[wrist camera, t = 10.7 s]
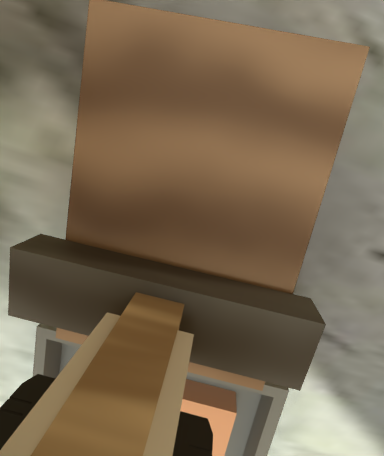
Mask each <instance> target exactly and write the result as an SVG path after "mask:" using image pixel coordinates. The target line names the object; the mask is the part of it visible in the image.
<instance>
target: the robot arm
mask: <svg viewBox="0 0 384 456" xmlns="http://www.w3.org/2000/svg"><path fill="white" fill-rule="evenodd" d="M119 318H120V316H119V315H115V314H111V313H106V314H105V316H104V317H103V318H102V320H101V321H100V322H99V323H98V325H97V326H96V327H95V329H94V330H93V331H92V332H91V334H90V335H89V336H88V338H87V339H86V340H85V341H84V343H83V344H82V345H81V347H80V348H79V349H78V351H77V352H76V353H75V354H74V356H73V357H72V358H71V360H70V361H69V362H68V363H67V365H66V366H65V367H64V369H63V370H62V371H61V372H60V374H59V375H58V376H57V378H52V377H48V376H44V375H41V374H37V375H35V376H34V377H32V378H30V379H29V380H27V381H25V382H24V383H22V384H21V385H20V387H19V388H18V389H17V390H16V391H15V392H14V393H13V394H12V395H11V396H10V399H8V400H7V401H6V402H5V403H4V404H3V405H2V406H1V407H0V456H31V454H32V453H33V451H34V450H35V448H36V447H37V445H38V444H39V442H40V440H41V439H42V437H43V436H44V434H45V433H46V431H47V430H48V428H49V426H50V425H51V423H52V422H53V420H54V419H55V417H56V416H57V414H58V412H59V411H60V409H61V408H62V406H63V405H64V403H65V402H66V400H67V399H68V397H69V395H70V394H71V392H72V391H73V389H74V388H75V386H76V385H77V383H78V381H79V380H80V378H81V377H82V375H83V374H84V372H85V371H86V369H87V367H88V366H89V364H90V363H91V361H92V360H93V358H94V357H95V355H96V354H97V352H98V350H99V349H100V347H101V346H102V344H103V343H104V341H105V340H106V338H107V336H108V335H109V333H110V332H111V330H112V329H113V327H114V326H115V324H116V322H117V321H118V319H119ZM193 337H194V334H191V333H187V332H183V331H179V330H178V331H177V334H176V338H175V341H174V345H173V349H172V352H171V356H170V359H169V363H168V367H167V370H166V374H165V377H164V381H163V385H162V388H161V392H160V395H159V399H158V403H157V406H156V410H155V413H154V417H153V421H152V424H151V428H150V432H149V435H148V439H147V442H146V446H145V450H144V453H143V456H212V450H213V432H212V429H211V426H210V423H209V421H208V418H204V417H200V416H197V415H193V414H189V413H186V412H182V411H180V410H181V405H182V399H183V393H184V388H185V382H186V376H187V371H188V365H189V359H190V354H191V348H192V343H193Z"/></svg>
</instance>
